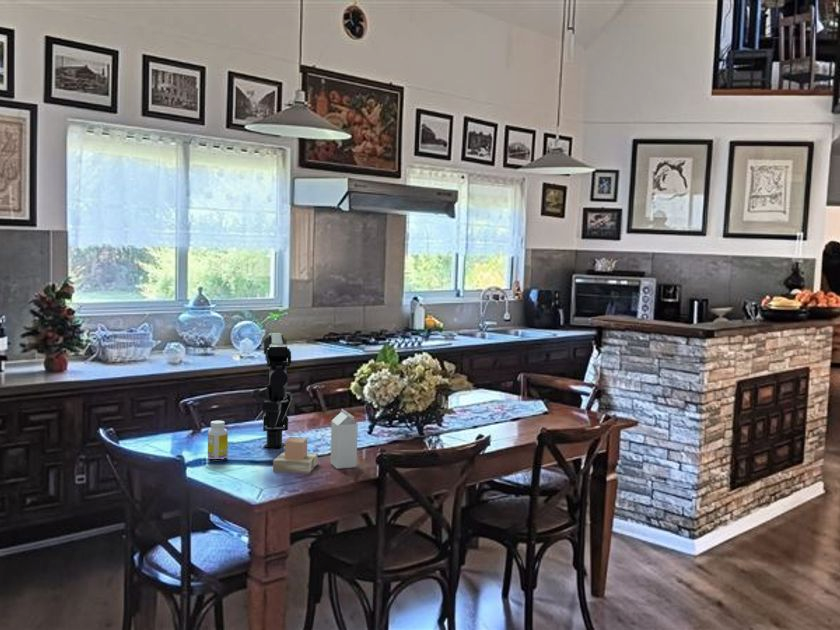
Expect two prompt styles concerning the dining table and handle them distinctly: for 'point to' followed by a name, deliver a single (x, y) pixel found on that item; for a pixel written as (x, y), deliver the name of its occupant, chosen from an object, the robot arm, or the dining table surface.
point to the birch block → (295, 464)
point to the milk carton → (344, 441)
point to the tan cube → (296, 448)
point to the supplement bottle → (217, 440)
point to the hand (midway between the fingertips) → (276, 425)
